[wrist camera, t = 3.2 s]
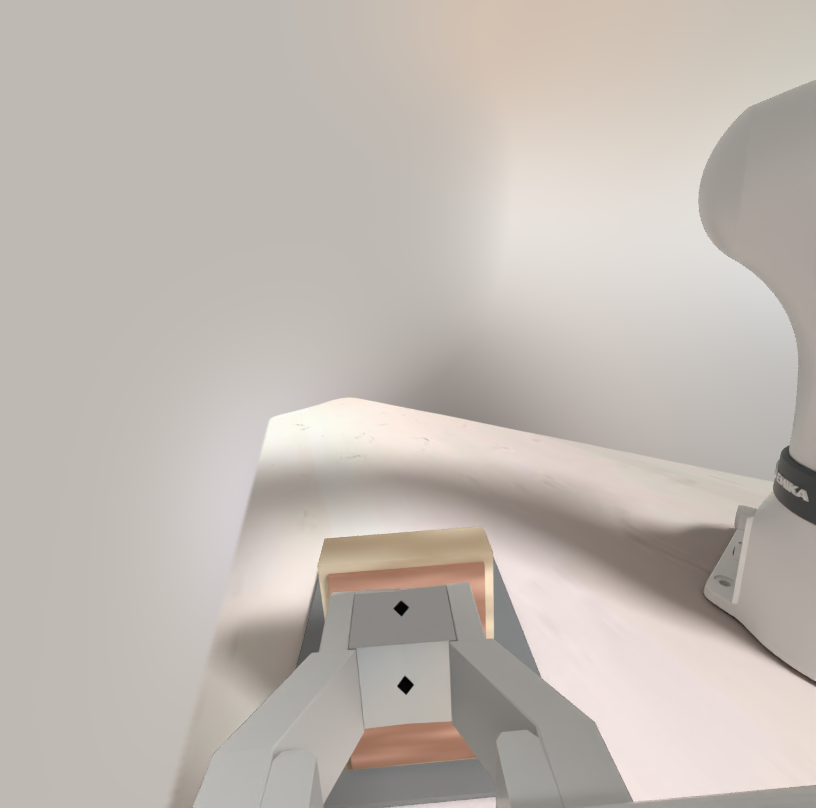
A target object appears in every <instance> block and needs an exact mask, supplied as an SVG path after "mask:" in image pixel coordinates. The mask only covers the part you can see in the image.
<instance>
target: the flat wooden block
mask: <svg viewBox="0 0 816 808" xmlns="http://www.w3.org/2000/svg"><path fill="white" fill-rule="evenodd" d="M317 567H318V575H319V582H320V589H321V597H322V604H323V612H324V619H325V618H326V613H327V608H328V603H329V598H330V596H331V594H332V593H333V592H347V591H355V592H356V591H361V590H379V589H398V588H401V589H403V588H415V587H428V586H440V585H446V584H452V583H462V582H468V583H469V584H470V586H471V589H472V593H473V596H474V599H475V603H476V606H477V610H478V613H479V617H480V620H481V624H482V627H483V631H484V634H485V638H486V639H491V638H493V639H494V594H493V551H492V548H491V546H490V543H489V541H488V539H487V536H486V534H485V531H484V529H483V526H479V527H466V528H453V529H441V530H428V531H416V532H403V533H390V534H378V535H365V536H352V537H340V538H327V539H324V543H323V547H322V551H321V555H320V558H319V562H318V566H317ZM476 758H477V757H476V756H475V754H474V753H473V752H472V750H471V749H470V747H469V746H468V745H467V743H466V742H465V740H464V739H463V738H462V736H461V735H460V734H459V732H458V731H457V729H456V728H455V727H454V725H453V724H452V721H448V722H430V723H411V724H401V725H392V726H384V727H376V728H367V729H364V733H363V735H362V737H361V739H360V740H359V742H358V744H357V746H356V748H355V749H354V751H353V753H352V755H351V756H350V758H349V760H348V762H347V763H346V765H345V771H348V770H358V769H369V768H380V767H391V766H401V765H412V764H423V763H433V762H444V761H455V760H466V759H476Z"/></svg>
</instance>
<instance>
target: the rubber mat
mask: <svg viewBox="0 0 816 808" xmlns="http://www.w3.org/2000/svg"><path fill="white" fill-rule="evenodd" d="M493 594H494V640H496V641H497V642H498V643H499V644H500V645H502V646H503V647H504V648H505V649H507V650H508V651H509V652H510V653H511V654H513V655H514V656H515V657H516V658H517V659H519V660H520V661H521V662H522V663H524V664H525V665H526V666H527V667H528V668H530V669H531V670H532V671H533V672H534V673H536V674H537V675H538V676H539V677H541V676H540V673H539V671H538V668H537V666H536V663H535V661H534V658H533V656H532V653H531V651H530V648H529V645H528V643H527V640H526V638H525V635H524V633H523V630H522V628H521V625H520V623H519V620H518V618H517V615H516V613H515V610H514V608H513V605H512V603H511V600H510V598H509V595H508V592H507V590H506V587H505V585H504V582H503V580H502V577H501V575H500V572H499V570H498V567H497V565H496V562H495V560H494V557H493ZM324 623H325V619H324V612H323V604H322V597H321V589H320V582H319V579H318V583H317V587H316V591H315V595H314V599H313V603H312V607H311V611H310V615H309V619H308V623H307V627H306V631H305V635H304V639H303V643H302V647H301V651H300V655H299V659H298V663H297V667H298V666H299V665H300V664H301V663H302V662H303V661H304V660H305V659H306V658H307V657H308V656H309V655H310V654H311V653H317V652H319V648H320V643H321V638H322V633H323V628H324ZM297 667H296V668H297ZM488 797H496V783H495V782H494V781H493V779H492V778H491V777H490V775H489V774H488V772H487V771H486V770H485V768H484V767H483V765H482V764H481V763H480V761H479V760H478V759H477V758H476V759H466V760H455V761H444V762H433V763H423V764H412V765H401V766H391V767H380V768H369V769H358V770H348V771H345V767H344V769H343V771H342V772H341V774H340V776H339V778H338V779H337V781H336V783H335V785H334V787H333V788H332V790H331V792H330V794H329V795H328V797H327V799H326V801H325V803H324V804H323V807H324V808H383V807H394V806H404V805H415V804H425V803H436V802H446V801H456V800H467V799H477V798H488Z"/></svg>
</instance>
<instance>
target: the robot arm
mask: <svg viewBox="0 0 816 808" xmlns="http://www.w3.org/2000/svg"><path fill="white" fill-rule="evenodd" d="M699 212H700V217H701V221H702V224H703V227H704V229H705V231H706V233H707V235H708V237H709V238H710V239H711V241H712V242H713V243H714V245H715V246H716V247H717V248H718V249H719V250H721V251H722V252H723V253H724V254H726V255H727V256H728V257H730V258H732V259H734V260H735V261H737V262H739V263H740V264H742V265H743V266H745V267H746V268H748V269H749V270H750V271H752V272H753V273H754V274H755V275H756V276H758V277H759V278H760V279H761V280H762V281H763V282H764V283H765V284H766V285H767V286H768V287H769V289H770V290H771V291H772V292H773V293H774V294H775V296H776V297H777V298H778V300H779V301H780V303H781V304H782V306H783V308H784V310H785V311H786V313H787V315H788V317H789V320H790V322H791V325H792V327H793V330H794V333H795V338H796V342H797V348H798V385H797V396H796V407H795V414H794V422H793V428H792V434H791V440H790V445H789V446H787V447H786V448H784V449H783V450H782V452H781V456H780V460H779V461H778V462H777V465H776V469H775V481H774V485H773V492H772V493H771V494H770V495H769V496H768V497H767V498H766V499H765V500H764V501H763V502H762V504H761V505H760V506H759V508H758V509H755V508H754V509H753V508H751V507H747V506H743V505H741V506H740V505H739V507H738V509H737V513H736V518H735V525H734V526H735V527H736V528H737V530H736V532H735V534H734V535H733V537H732V539H731V541H730V542H729V544H728V546H727V547H726V549H725V551H724V553H723V554H722V556H721V558H720V559H719V561H718V563H717V565H716V566H715V568H714V570H713V571H712V573H711V575H710V577H709V578H708V580H707V582H706V585H705V588H704V595H705V597H706V598H707V599H709V600H710V601H711V602H712V603H714V604H715V605H717V606H718V607H720V608H721V609H723V610H724V611H726V612H727V613H729V614H730V615H732V616H734V617H735V618H737V619H738V620H739V621H740V622H741V623H742V624H743V625H744V626H745V627H746V628H747V629H748V630H749V631H750V632H751V633H752V634H753V635H754V636H755V637H756V638H757V639H758V640H759V641H760V642H761V643H762V644H763V645H764V646H765V647H766V648H768V649H769V650H770V651H771V652H772V653H774V654H775V655H776V656H778V657H779V658H780V659H782V660H783V661H784V662H786V663H787V664H789V665H790V666H792V667H793V668H795V669H796V670H798V671H799V672H801V673H802V674H804V675H806V676H807V677H809V678H811V679H812V680H814V681H816V80H814V81H812V82H809V83H807V84H804V85H801V86H799V87H796V88H794V89H791V90H789V91H787V92H784V93H782V94H779V95H777V96H775V97H772V98H770V99H767V100H765V101H763V102H760V103H758V104H755V105H753V106H751V107H749V108H748V109H746V110H745V111H744V112H743V113H742V114H741V115H740V116H739V117H738V118H737V119H736V120H735V121H734V122H733V124H732V125H731V126H730V127H729V128H728V129H727V131H726V132H725V133H724V135H723V136H722V137H721V139H720V140H719V142H718V143H717V145H716V147H715V148H714V150H713V152H712V154H711V155H710V158H709V159H708V161H707V164H706V166H705V169H704V172H703V176H702V179H701V183H700V189H699ZM448 721H452V724H453V725H454V727H455V728H456V729H457V731H458V732H459V734H460V735H461V736H462V738H463V739H464V740H465V742H466V743H467V745H468V746H469V747H470V749H471V750H472V752H473V753H474V754H475V756H476V757H477V759H478V760H479V761H480V763H481V764H482V765H483V767H484V768H485V770H486V771H487V772H488V774H489V775H490V777H491V778H492V779H493V781H494V782H495V783H496V808H816V785H811V786H800V787H789V788H778V789H767V790H757V791H746V792H735V793H724V794H713V795H703V796H692V797H681V798H670V799H659V800H648V801H638V802H633V800H632V798H631V796H630V794H629V792H628V790H627V787H626V785H625V783H624V781H623V779H622V777H621V775H620V773H619V771H618V769H617V767H616V765H615V763H614V761H613V759H612V757H611V755H610V752H609V750H608V748H607V746H606V744H605V742H604V740H603V738H602V736H601V734H600V732H599V730H598V728H597V726H596V724H595V722H594V721H593V720H592V719H590V718H589V717H588V716H587V715H585V714H584V713H583V712H582V711H581V710H579V709H578V708H577V707H576V706H575V705H573V704H572V703H571V702H570V701H568V700H567V699H566V698H565V697H564V696H562V695H561V694H560V693H559V692H558V691H556V690H555V689H554V688H553V687H551V686H550V685H549V684H548V683H547V682H545V681H544V680H543V679H542V678H541V677H539V676H538V675H537V674H536V673H534V672H533V671H532V670H531V669H530V668H528V667H527V666H526V665H525V664H524V663H522V662H521V661H520V660H519V659H517V658H516V657H515V656H514V655H513V654H511V653H510V652H509V651H508V650H507V649H505V648H504V647H503V646H502V645H500V644H499V643H498V642H497V641H496V640H494V639H493V638H491V639H486V638H485V634H484V631H483V627H482V624H481V620H480V617H479V613H478V610H477V606H476V603H475V599H474V596H473V593H472V589H471V586H470V584H469V583H468V582H462V583H452V584H446V585H440V586H428V587H415V588H403V589H401V588H398V589H379V590H361V591H356V592H355V591H347V592H333V593H332V594H331V596H330V598H329V603H328V608H327V613H326V618H325V623H324V628H323V633H322V638H321V643H320V648H319V652H317V653H311V654H310V655H309V656H308V657H307V658H306V659H305V660H304V661H303V662H302V663H301V664H300V665H299V666H298V667H297V668H296V669H295V670H294V672H293V673H292V674H291V675H290V676H289V677H288V678H287V679H286V680H285V681H284V682H283V683H282V684H281V685H280V686H279V687H278V688H277V689H276V690H275V691H274V692H273V693H272V694H271V695H270V696H269V697H268V698H267V699H266V700H265V701H264V702H263V704H262V705H261V706H260V707H259V708H258V709H257V710H256V711H255V712H254V713H253V714H252V715H251V716H250V717H249V718H248V719H247V720H246V721H245V722H244V723H243V724H242V725H241V726H240V727H239V728H238V729H237V730H236V731H235V732H234V733H233V734H232V735H231V737H230V738H229V739H228V740H227V741H226V742H225V743H224V744H223V745H222V746H221V747H220V748H219V749H218V750H217V751H216V752H215V753H214V754H213V756H212V759H211V761H210V764H209V767H208V769H207V772H206V774H205V777H204V779H203V782H202V784H201V787H200V790H199V792H198V795H197V797H196V800H195V802H194V805H193V808H324V807H323V804H324V803H325V801H326V799H327V797H328V795H329V794H330V792H331V790H332V788H333V787H334V785H335V783H336V781H337V779H338V778H339V776H340V774H341V772H342V771H343V769H344V767H345V765H346V763H347V762H348V760H349V758H350V756H351V755H352V753H353V751H354V749H355V748H356V746H357V744H358V742H359V740H360V739H361V737H362V735H363V733H364V729H367V728H376V727H384V726H392V725H401V724H411V723H430V722H448Z"/></svg>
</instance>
